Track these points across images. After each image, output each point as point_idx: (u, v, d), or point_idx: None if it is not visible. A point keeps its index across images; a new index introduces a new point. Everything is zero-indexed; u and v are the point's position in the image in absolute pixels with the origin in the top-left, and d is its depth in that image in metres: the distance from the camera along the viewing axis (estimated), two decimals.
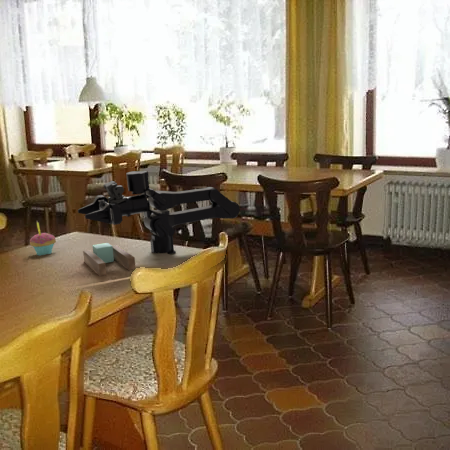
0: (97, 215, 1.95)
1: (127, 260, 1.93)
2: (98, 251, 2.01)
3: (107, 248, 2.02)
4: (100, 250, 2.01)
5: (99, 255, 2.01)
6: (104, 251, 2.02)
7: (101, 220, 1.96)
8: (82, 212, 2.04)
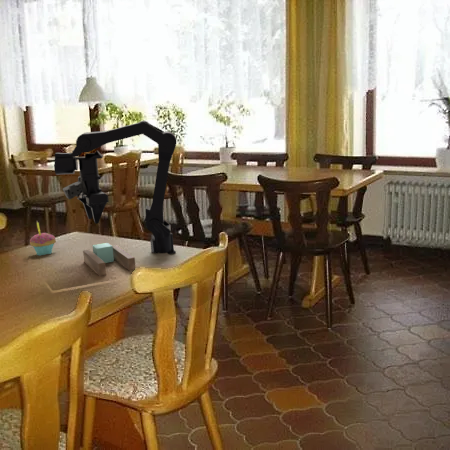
0: (96, 213, 2.04)
1: (127, 260, 1.93)
2: (98, 251, 2.01)
3: (107, 248, 2.02)
4: (100, 250, 2.01)
5: (99, 255, 2.01)
6: (104, 251, 2.02)
7: (102, 210, 2.04)
8: (91, 215, 2.12)
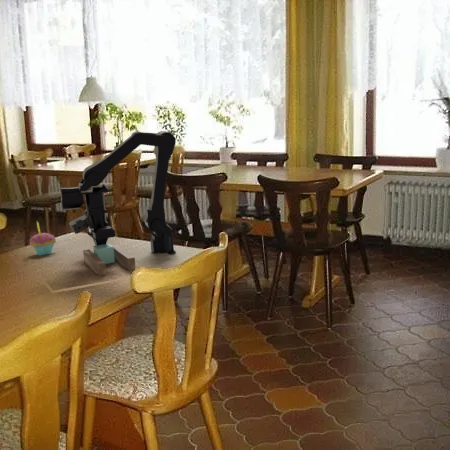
0: None
1: (127, 260, 1.93)
2: (99, 252, 2.00)
3: (108, 249, 2.01)
4: (101, 251, 2.00)
5: (100, 256, 2.00)
6: (105, 252, 2.01)
7: (105, 241, 2.06)
8: None
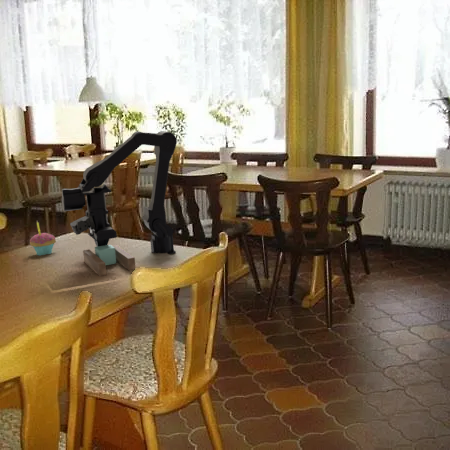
0: (101, 245, 2.04)
1: (127, 260, 1.93)
2: (100, 253, 1.98)
3: (109, 250, 2.00)
4: (102, 252, 1.99)
5: (101, 257, 1.99)
6: (106, 253, 1.99)
7: (106, 242, 2.04)
8: None
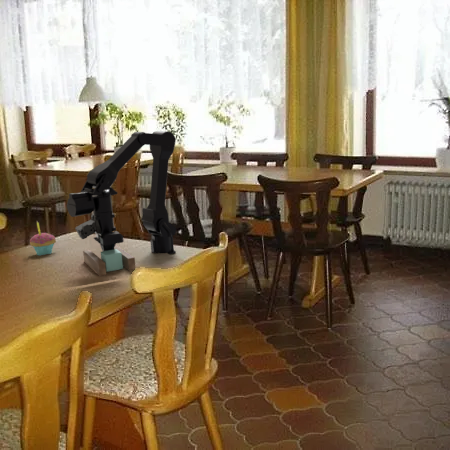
0: (107, 250, 1.98)
1: (127, 260, 1.93)
2: (107, 258, 1.92)
3: (116, 255, 1.94)
4: (109, 257, 1.93)
5: (108, 262, 1.93)
6: (113, 258, 1.93)
7: (113, 247, 1.98)
8: None
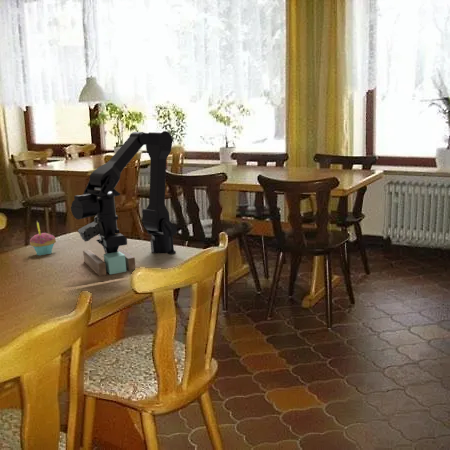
0: None
1: (127, 260, 1.93)
2: (110, 261, 1.89)
3: (119, 257, 1.91)
4: (112, 260, 1.90)
5: (111, 265, 1.90)
6: (116, 261, 1.90)
7: (116, 249, 1.95)
8: None
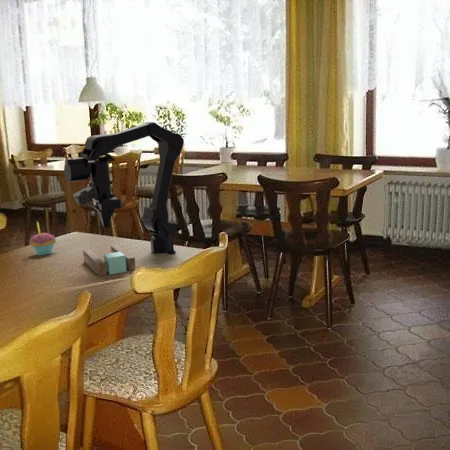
0: (105, 217, 1.98)
1: (127, 260, 1.93)
2: (110, 261, 1.89)
3: (119, 257, 1.90)
4: (112, 260, 1.90)
5: (111, 265, 1.90)
6: (116, 261, 1.90)
7: (111, 214, 1.98)
8: None
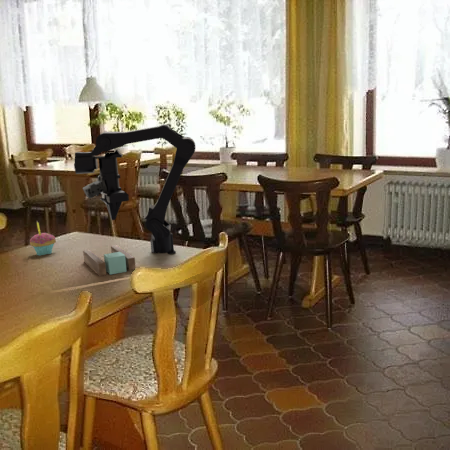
0: (113, 210, 2.08)
1: (127, 260, 1.93)
2: (110, 261, 1.89)
3: (119, 257, 1.90)
4: (112, 260, 1.90)
5: (111, 265, 1.90)
6: (116, 261, 1.90)
7: (118, 206, 2.08)
8: None
